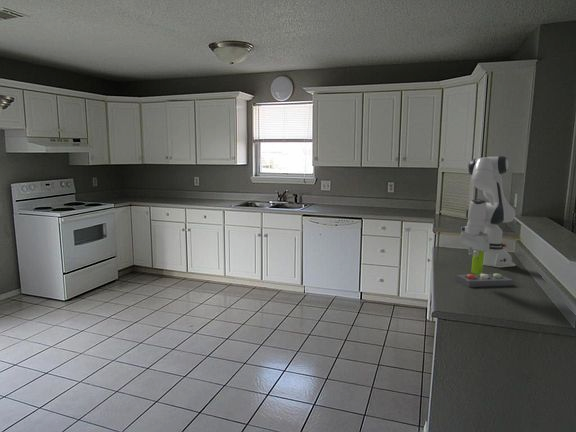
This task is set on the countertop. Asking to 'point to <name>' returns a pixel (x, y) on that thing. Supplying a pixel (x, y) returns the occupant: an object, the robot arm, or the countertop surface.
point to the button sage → (497, 275)
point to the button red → (470, 276)
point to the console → (484, 281)
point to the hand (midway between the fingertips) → (473, 255)
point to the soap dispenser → (477, 263)
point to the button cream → (484, 276)
